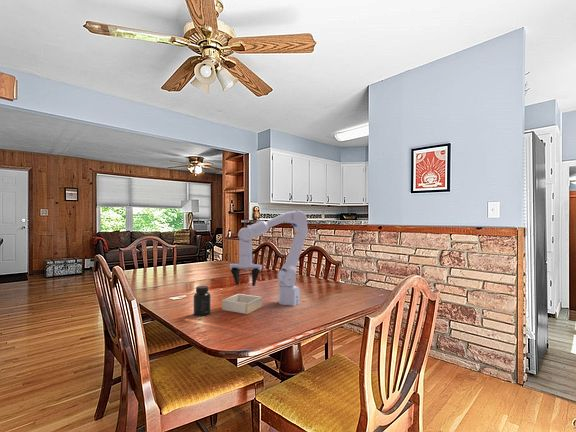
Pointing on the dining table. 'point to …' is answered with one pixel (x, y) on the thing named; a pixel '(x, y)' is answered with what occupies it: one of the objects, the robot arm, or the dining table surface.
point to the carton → (237, 303)
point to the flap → (253, 305)
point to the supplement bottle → (202, 301)
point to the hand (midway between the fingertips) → (245, 285)
